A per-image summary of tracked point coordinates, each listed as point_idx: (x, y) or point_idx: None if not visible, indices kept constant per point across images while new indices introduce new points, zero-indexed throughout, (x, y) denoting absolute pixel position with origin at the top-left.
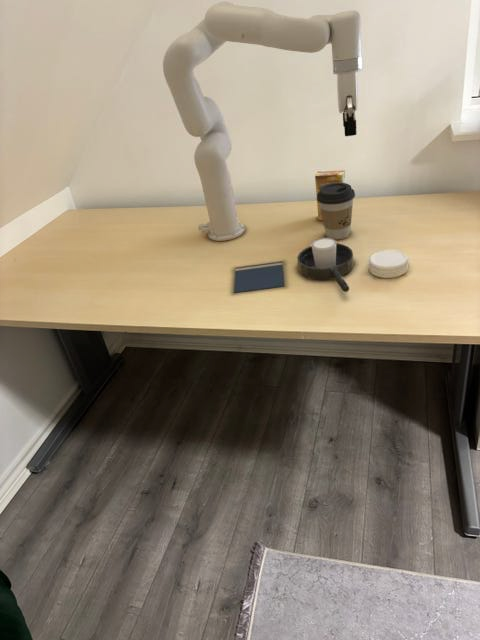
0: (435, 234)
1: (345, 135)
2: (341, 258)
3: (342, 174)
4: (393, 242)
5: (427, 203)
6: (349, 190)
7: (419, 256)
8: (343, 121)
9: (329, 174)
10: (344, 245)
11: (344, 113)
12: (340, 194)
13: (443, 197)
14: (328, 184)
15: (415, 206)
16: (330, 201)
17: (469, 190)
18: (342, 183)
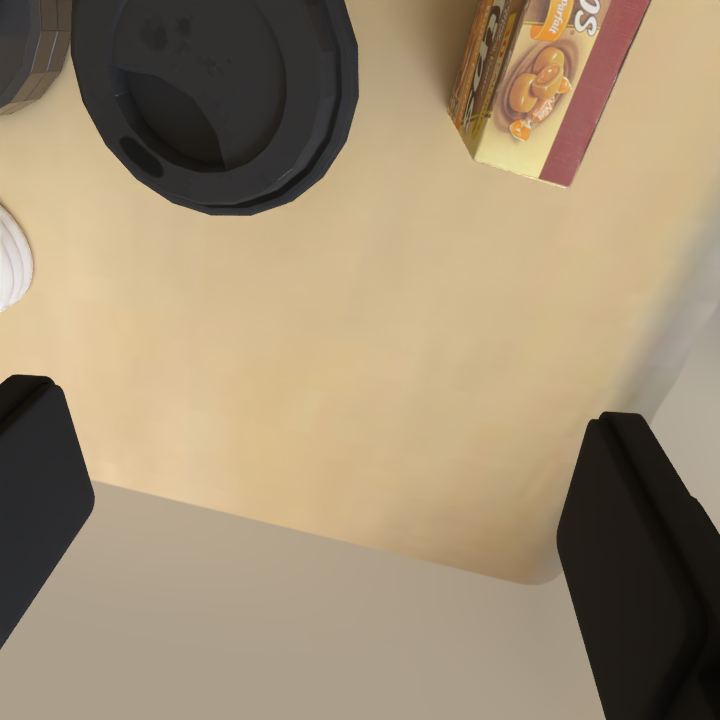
0: (229, 427)
1: (17, 383)
2: (19, 62)
3: (485, 163)
4: (178, 295)
5: (492, 459)
6: (156, 187)
7: (73, 354)
8: (634, 473)
9: (532, 41)
10: (18, 86)
11: (678, 643)
12: (93, 114)
13: (523, 510)
14: (298, 19)
15: (482, 420)
16: (72, 24)
17: (544, 578)
18: (289, 147)
